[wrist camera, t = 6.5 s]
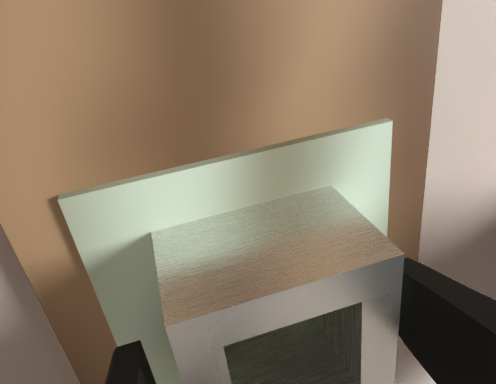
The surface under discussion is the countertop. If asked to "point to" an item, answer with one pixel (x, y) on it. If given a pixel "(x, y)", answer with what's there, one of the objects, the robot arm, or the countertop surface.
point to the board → (195, 138)
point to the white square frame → (281, 294)
